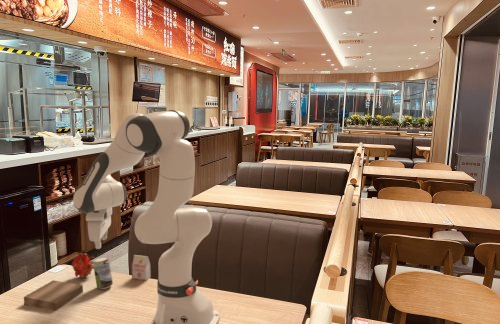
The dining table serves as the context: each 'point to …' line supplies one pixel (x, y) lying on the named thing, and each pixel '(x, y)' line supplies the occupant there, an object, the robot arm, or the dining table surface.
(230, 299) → the dining table surface
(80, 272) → the dragon fruit
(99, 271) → the beverage can
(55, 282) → the walnut base
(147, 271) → the tea bag
